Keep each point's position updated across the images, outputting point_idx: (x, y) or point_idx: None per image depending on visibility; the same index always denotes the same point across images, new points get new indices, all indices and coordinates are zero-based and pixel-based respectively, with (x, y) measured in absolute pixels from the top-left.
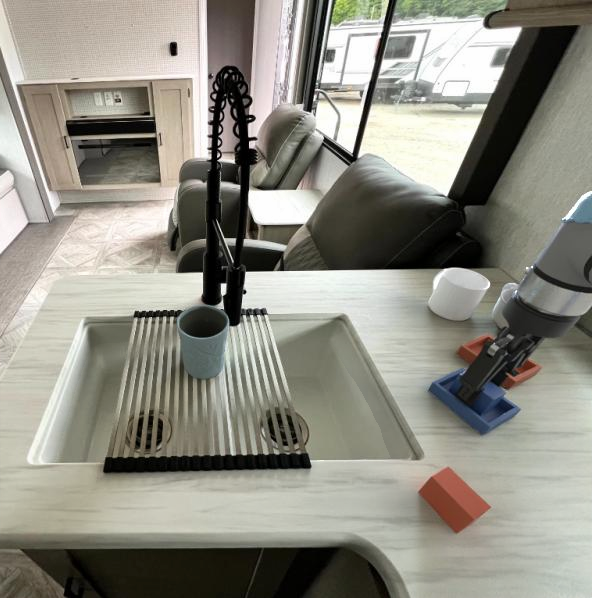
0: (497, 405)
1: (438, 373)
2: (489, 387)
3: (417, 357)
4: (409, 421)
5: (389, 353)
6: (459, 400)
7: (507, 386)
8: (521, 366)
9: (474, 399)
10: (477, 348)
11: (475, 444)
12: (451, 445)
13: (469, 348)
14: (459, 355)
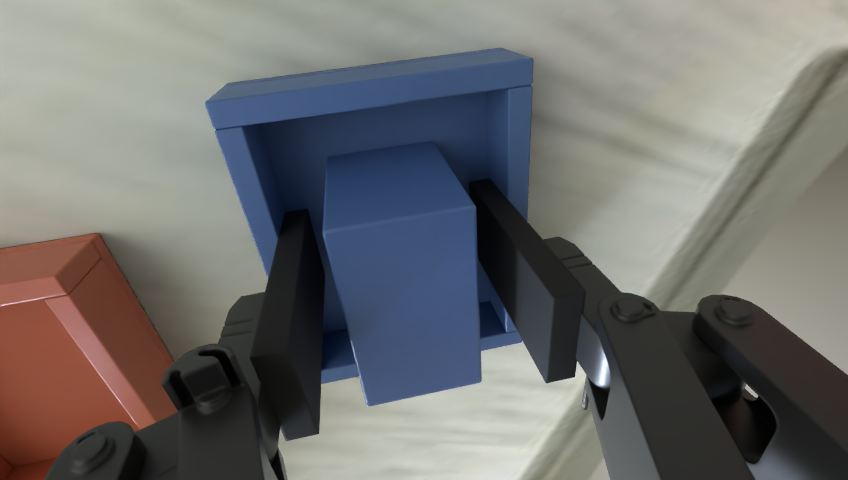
0: (272, 169)
1: None
2: (401, 288)
3: (393, 423)
4: (698, 203)
5: (476, 443)
6: None
7: (96, 252)
8: (97, 449)
9: (537, 234)
10: None
11: (580, 20)
12: (678, 57)
13: None
14: None
